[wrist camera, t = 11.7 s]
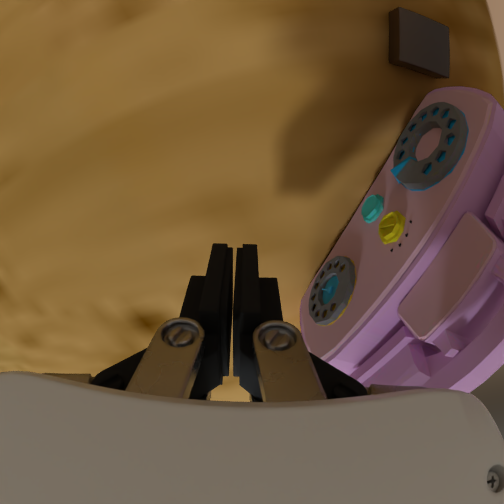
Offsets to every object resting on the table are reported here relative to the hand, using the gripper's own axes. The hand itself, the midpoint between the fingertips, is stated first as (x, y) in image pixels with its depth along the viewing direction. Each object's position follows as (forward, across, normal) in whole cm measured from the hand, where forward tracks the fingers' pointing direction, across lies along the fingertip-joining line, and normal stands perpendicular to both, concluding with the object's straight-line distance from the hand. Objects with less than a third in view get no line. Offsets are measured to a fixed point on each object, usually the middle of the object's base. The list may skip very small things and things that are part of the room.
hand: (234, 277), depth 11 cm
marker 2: (+4, -8, -11) cm, 14 cm away
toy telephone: (+4, -8, 0) cm, 9 cm away
